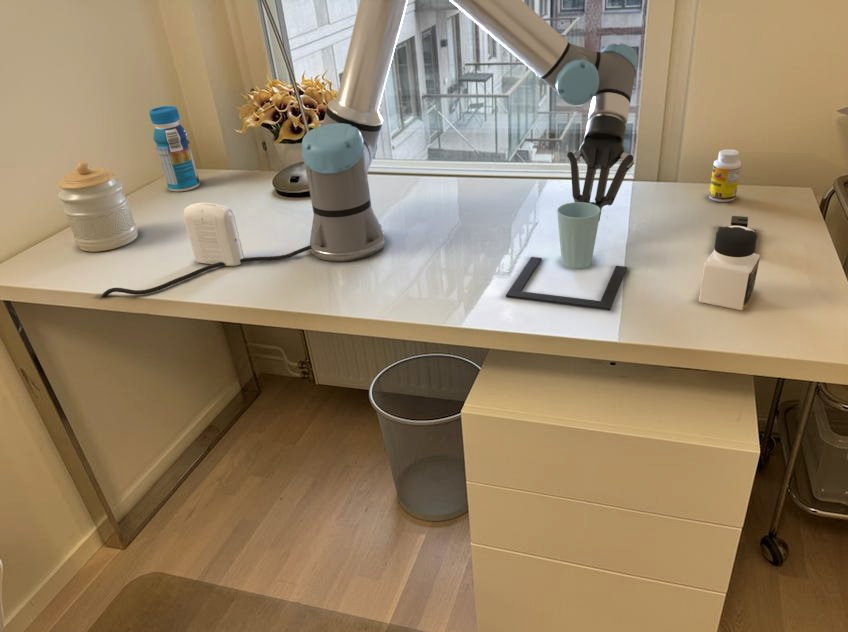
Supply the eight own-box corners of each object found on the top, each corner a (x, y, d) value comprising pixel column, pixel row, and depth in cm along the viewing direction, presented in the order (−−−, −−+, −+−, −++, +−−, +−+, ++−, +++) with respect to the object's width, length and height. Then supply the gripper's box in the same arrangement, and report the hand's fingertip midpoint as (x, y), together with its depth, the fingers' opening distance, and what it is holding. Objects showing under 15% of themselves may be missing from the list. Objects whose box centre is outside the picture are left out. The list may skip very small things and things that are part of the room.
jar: (149, 237, 156) (124, 159, 146) (92, 258, 148) (62, 176, 139) (123, 225, 164) (98, 149, 154) (68, 243, 156) (37, 165, 146)
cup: (598, 254, 133) (601, 202, 128) (596, 272, 127) (599, 218, 122) (558, 253, 135) (559, 201, 129) (554, 270, 129) (555, 217, 123)
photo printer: (248, 258, 143) (234, 200, 136) (237, 268, 139) (221, 208, 132) (205, 255, 145) (189, 198, 139) (193, 264, 142) (176, 206, 135)
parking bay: (531, 259, 134) (531, 256, 133) (626, 269, 127) (627, 266, 127) (505, 297, 121) (505, 294, 121) (609, 310, 115) (610, 308, 115)
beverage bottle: (162, 192, 182) (138, 113, 171) (177, 181, 188) (155, 105, 178) (192, 192, 180) (170, 112, 169) (206, 181, 187) (186, 104, 176)
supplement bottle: (703, 195, 155) (710, 149, 149) (727, 192, 156) (734, 146, 150) (716, 204, 150) (723, 157, 145) (740, 201, 151) (748, 154, 145)
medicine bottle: (743, 311, 112) (756, 242, 106) (698, 302, 116) (708, 234, 109) (753, 292, 117) (766, 225, 111) (709, 284, 120) (719, 218, 114)
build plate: (755, 257, 128) (759, 234, 126) (713, 254, 131) (716, 231, 128) (756, 231, 138) (760, 208, 135) (716, 228, 140) (720, 206, 138)
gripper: (642, 134, 137) (622, 247, 134) (576, 132, 142) (555, 241, 138) (640, 113, 130) (618, 232, 127) (570, 112, 135) (548, 226, 131)
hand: (585, 237), depth 132 cm, fingers closed
